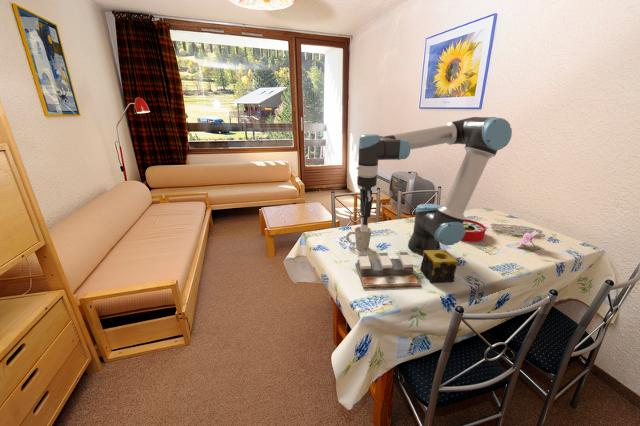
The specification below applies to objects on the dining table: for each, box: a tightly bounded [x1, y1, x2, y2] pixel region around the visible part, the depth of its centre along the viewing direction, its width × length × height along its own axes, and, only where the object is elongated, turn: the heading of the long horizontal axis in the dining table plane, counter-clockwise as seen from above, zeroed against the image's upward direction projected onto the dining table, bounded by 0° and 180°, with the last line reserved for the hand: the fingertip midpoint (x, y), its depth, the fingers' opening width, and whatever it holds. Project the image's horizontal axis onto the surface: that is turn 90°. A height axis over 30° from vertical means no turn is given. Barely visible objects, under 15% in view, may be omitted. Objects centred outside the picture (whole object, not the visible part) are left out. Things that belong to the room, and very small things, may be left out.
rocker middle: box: [377, 252, 392, 268], centre depth 118 cm, size 4×8×2 cm, turn 3°
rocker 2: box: [397, 251, 415, 268], centre depth 118 cm, size 4×8×2 cm, turn 3°
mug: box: [345, 226, 373, 252], centre depth 139 cm, size 8×13×10 cm, turn 78°
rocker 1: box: [357, 252, 371, 269], centre depth 117 cm, size 4×8×2 cm, turn 3°
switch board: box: [354, 258, 422, 290], centre depth 116 cm, size 23×18×4 cm
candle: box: [419, 249, 458, 284], centre depth 114 cm, size 10×10×10 cm
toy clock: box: [459, 218, 487, 243], centre depth 155 cm, size 20×6×20 cm
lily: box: [516, 229, 539, 249], centre depth 139 cm, size 12×12×10 cm
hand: (364, 230), depth 115 cm, fingers closed
